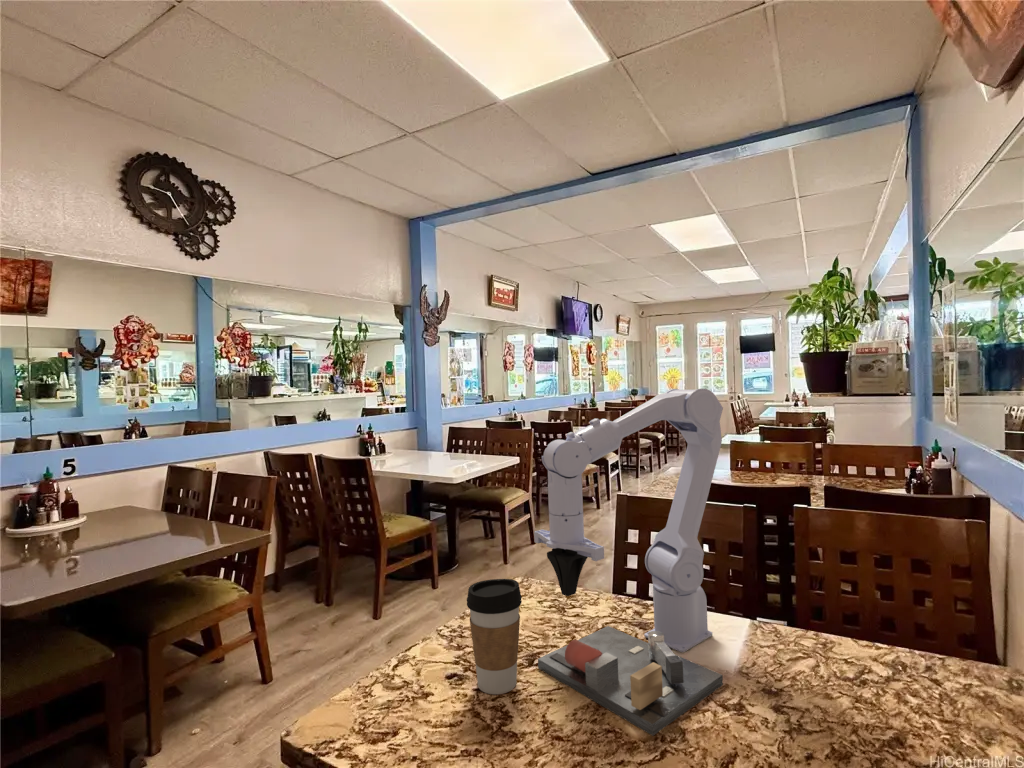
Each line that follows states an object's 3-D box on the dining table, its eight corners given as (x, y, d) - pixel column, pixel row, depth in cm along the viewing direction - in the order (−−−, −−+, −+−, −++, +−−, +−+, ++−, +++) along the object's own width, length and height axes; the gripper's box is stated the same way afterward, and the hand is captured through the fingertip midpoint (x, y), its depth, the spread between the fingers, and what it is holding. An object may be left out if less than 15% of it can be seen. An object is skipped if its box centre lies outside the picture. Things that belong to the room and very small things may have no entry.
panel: (608, 634, 95) (607, 608, 95) (724, 685, 77) (722, 653, 77) (538, 668, 84) (537, 638, 84) (654, 736, 67) (652, 699, 67)
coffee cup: (519, 702, 75) (515, 597, 75) (462, 697, 77) (459, 594, 77) (529, 670, 83) (525, 576, 83) (477, 667, 85) (474, 574, 85)
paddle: (654, 691, 73) (653, 662, 73) (662, 695, 72) (661, 666, 72) (631, 705, 70) (630, 675, 70) (640, 710, 69) (638, 679, 69)
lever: (646, 653, 83) (645, 631, 83) (661, 652, 84) (660, 630, 84) (669, 684, 74) (668, 660, 74) (685, 683, 75) (684, 658, 75)
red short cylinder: (581, 659, 82) (580, 636, 82) (604, 671, 79) (603, 646, 79) (565, 667, 80) (564, 644, 80) (587, 680, 76) (586, 655, 76)
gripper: (519, 509, 91) (522, 588, 90) (581, 524, 79) (584, 614, 79) (549, 502, 95) (552, 577, 95) (611, 516, 84) (614, 601, 84)
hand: (568, 593), depth 87 cm, fingers closed
